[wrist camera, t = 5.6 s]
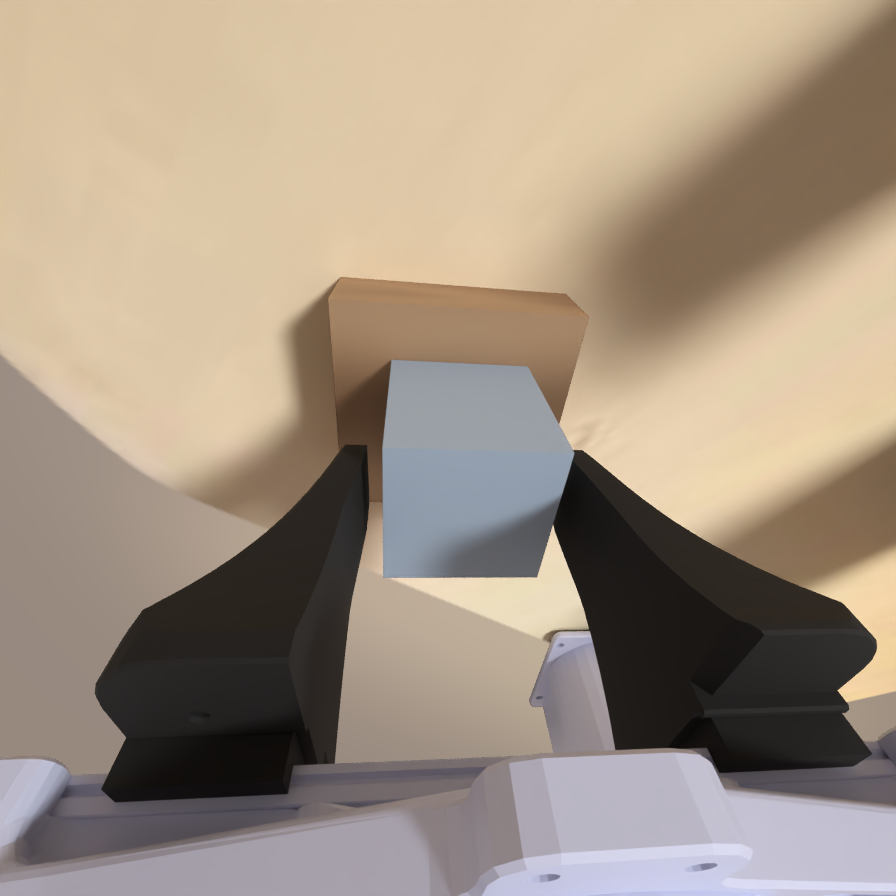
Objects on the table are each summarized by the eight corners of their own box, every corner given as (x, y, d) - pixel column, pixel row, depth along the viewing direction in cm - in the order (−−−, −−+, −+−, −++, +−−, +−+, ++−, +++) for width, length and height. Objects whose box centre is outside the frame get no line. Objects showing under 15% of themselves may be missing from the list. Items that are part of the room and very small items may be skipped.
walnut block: (521, 462, 20) (536, 505, 18) (351, 456, 20) (342, 500, 17) (562, 290, 16) (589, 316, 13) (342, 273, 15) (327, 298, 13)
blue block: (506, 473, 17) (536, 577, 13) (390, 470, 16) (383, 577, 12) (527, 366, 14) (574, 453, 10) (391, 359, 14) (382, 447, 10)
